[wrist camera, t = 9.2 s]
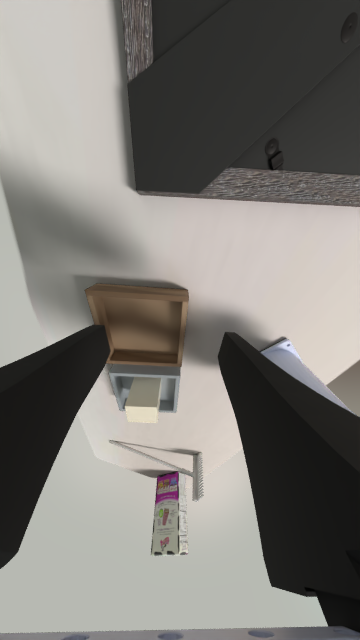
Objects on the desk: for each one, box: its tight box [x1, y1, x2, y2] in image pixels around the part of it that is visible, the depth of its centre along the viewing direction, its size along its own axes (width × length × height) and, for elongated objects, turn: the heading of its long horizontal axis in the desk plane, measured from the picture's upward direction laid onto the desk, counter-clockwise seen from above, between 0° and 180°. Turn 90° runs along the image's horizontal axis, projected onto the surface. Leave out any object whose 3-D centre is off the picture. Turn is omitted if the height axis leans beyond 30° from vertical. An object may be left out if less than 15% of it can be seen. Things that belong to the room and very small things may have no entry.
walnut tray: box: [85, 284, 189, 367], centre depth 18 cm, size 11×11×2 cm
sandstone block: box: [125, 377, 161, 423], centre depth 23 cm, size 4×4×5 cm
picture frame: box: [121, 0, 360, 207], centre depth 8 cm, size 16×2×21 cm
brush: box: [109, 440, 203, 502], centre depth 39 cm, size 4×28×9 cm, turn 65°
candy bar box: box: [151, 471, 188, 556], centre depth 48 cm, size 11×5×16 cm, turn 128°
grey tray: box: [109, 364, 180, 413], centre depth 24 cm, size 11×11×2 cm
